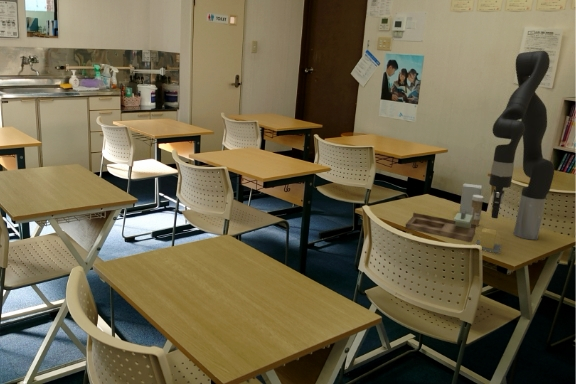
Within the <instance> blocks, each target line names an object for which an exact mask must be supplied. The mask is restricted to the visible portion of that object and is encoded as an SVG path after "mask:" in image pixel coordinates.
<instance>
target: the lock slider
mask: <svg viewBox="0 0 576 384" xmlns="http://www.w3.org/2000/svg"><path fill="white" fill-rule="evenodd" d="M472 216H473V215H468V214H466V210H463V211H462V213H459V212H457V213H456V214H455V216H454V217H453V219H452V220H453V221H456V222H455V226H459V227H464V228H469V229H470V228H471V222H472Z"/></svg>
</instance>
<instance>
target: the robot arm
mask: <svg viewBox="0 0 576 384" xmlns="http://www.w3.org/2000/svg"><path fill="white" fill-rule="evenodd" d="M550 62H551V61H550V55H549V53H548V52H547V51H546V50H535V51H526V52H525V51H524V52H520V53H518V54H517V56H516V59H515V74H516V79H517V85H518V87H517V88H516V89H515V90H514V91H513V92H512V93H511V95H510V97H509V99H508V101H507V103H506V107H505V108H504V110H503V111H502V113H501V114H500V115H499V116H498V117H497V119H496V120H495V121H494V123H493V126H492V130H491V131H492V134H493V136H494V137H496V138H499V139H506V140H510V142H509V143H507V144H498V145H496V146H495V150H494V154H493V161H492V165H491V170H490V175H489V186H492V187H494V189H493V191H492V200H491V202H492V205H491V208H492V211H491V218H492V219H496V220H497V219H498V217H499V212H500V209H501V204H503V199H504V195H505V191H506V190H504V189H507V188H511V186H512V179H513V174H514V163H515V157H516V152H517V149H518V146H519V143H520V141H521V139H522V144H523V149H522V150H523V156H522V170H523V173H524V174H525V176H526V177H528V178H529V181H528V185H527V186H524V187H523V188H522V189H521V194H520V200H519V204H518V210H517V215H516V220H515V225H514V230H513V235H514V236H516V237H518V238H522V239H527V240H536V241H537V240H538V238H539V234H540V229H541V225H542V219H543V213H544V208H545V203H546V198H547V196H548V194H549V192H550V190H551V188H552V183H553V180H554V175H555V165H554V163H553V162H552V161H551V160H549V159H546V158H544V157H543V150H542V149H543V148H542V145H543V138H544V136H545V133H546V131H547V127H548V114H547V107H546V105H545V103H544V102H543V100H542V99H541V98H540V96H539V95H538V94H537V93H536V91H537V90H538V87H540V85H541V83H542V81H543V79H544V78H545V77H546V75H547V73H548V70H549V68H550Z"/></svg>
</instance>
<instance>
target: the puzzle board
mask: <svg viewBox="0 0 576 384" xmlns="http://www.w3.org/2000/svg"><path fill="white" fill-rule="evenodd" d="M453 220H454V219H448V218H445V217H444V218H443V217H438V216H434V215H428V214H424V213H423V214H422V213H417V212H413V214H412V216H411V218H409V220H408V221H407V222H406V223H405V227H404V228H405V229H407V230H411V231H417V232H421V233H425V234H430V235H435V236H440V237H445V238H449V239H450V238H451V239H455V240H458V241H463V242H469V243H471V242H472V240H473V238H474V235H475V234H476V228H477V226H476V225H475V224H471V228H470V229H469V228H464V227H459V226H455V222H456V221H453Z"/></svg>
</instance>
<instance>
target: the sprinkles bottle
mask: <svg viewBox="0 0 576 384" xmlns="http://www.w3.org/2000/svg"><path fill="white" fill-rule="evenodd" d="M484 200H485V199H484V196H483V195H481V196H480V195H473V197H472V205H471V210H470V215H473V216H472V222H471V224H475V225H476V227H479V226H480V225H479V224H480V219H481V214H482V207H483V203H484Z"/></svg>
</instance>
